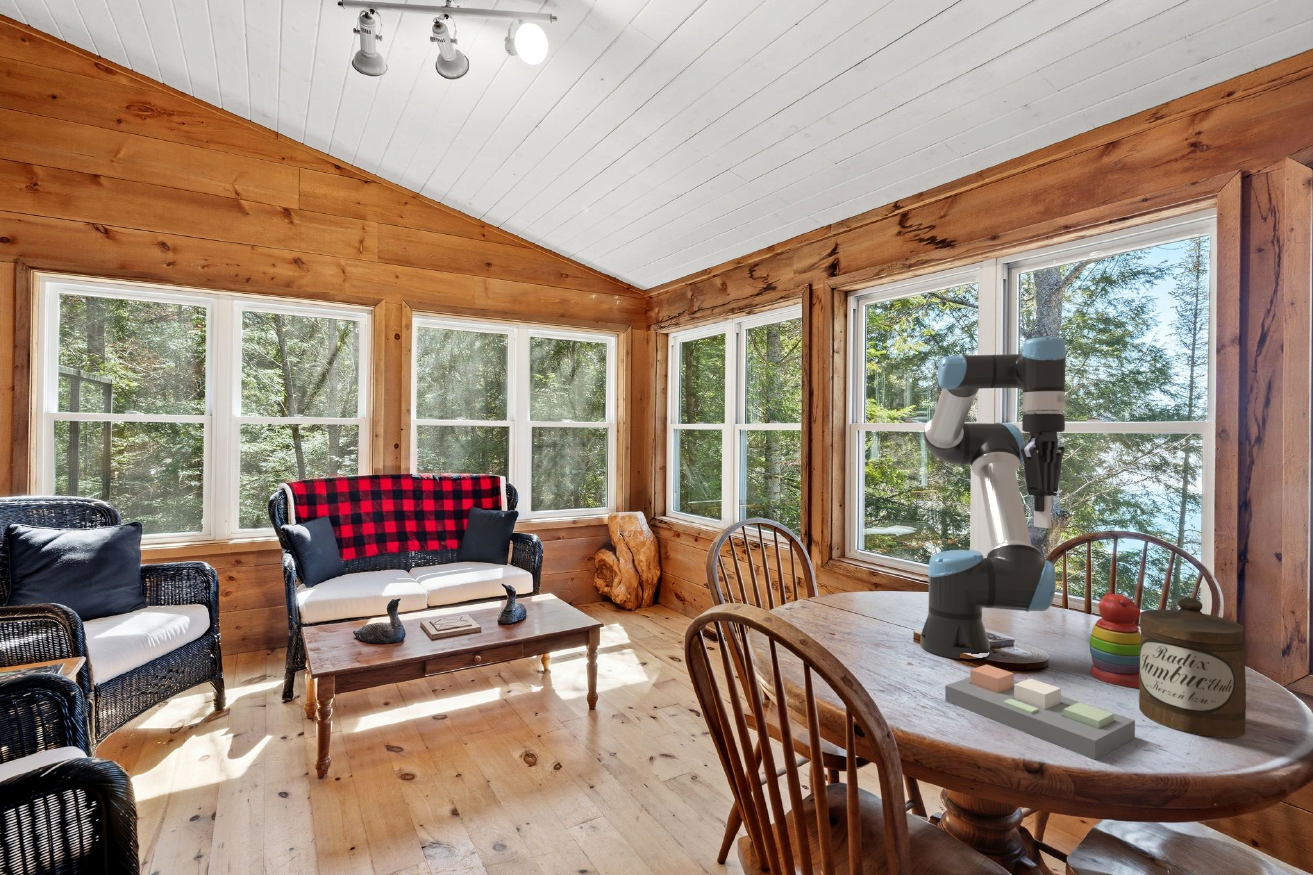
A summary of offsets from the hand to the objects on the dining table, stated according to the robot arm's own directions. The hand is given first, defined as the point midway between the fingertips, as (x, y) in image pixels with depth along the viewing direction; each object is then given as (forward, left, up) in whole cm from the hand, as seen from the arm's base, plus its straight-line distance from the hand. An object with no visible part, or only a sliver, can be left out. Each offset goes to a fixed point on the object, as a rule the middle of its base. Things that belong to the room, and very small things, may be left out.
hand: (1042, 527), depth 132 cm
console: (+8, -18, -32) cm, 38 cm away
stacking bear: (+7, +17, -33) cm, 37 cm away
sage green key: (+16, -17, -31) cm, 39 cm away
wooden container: (+23, +6, -33) cm, 40 cm away
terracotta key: (-1, -17, -30) cm, 34 cm away
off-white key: (+8, -17, -30) cm, 35 cm away
